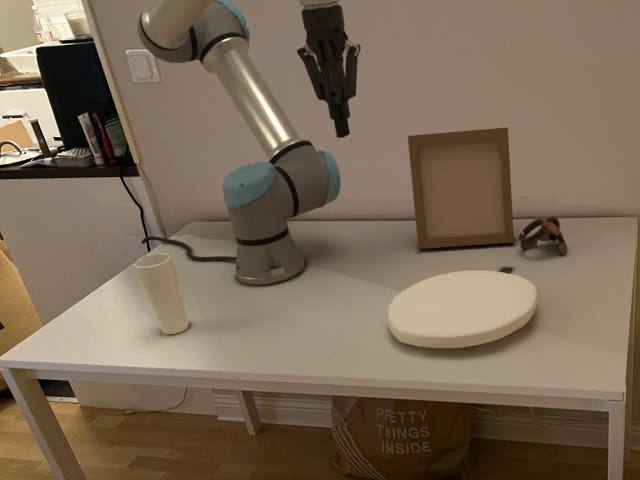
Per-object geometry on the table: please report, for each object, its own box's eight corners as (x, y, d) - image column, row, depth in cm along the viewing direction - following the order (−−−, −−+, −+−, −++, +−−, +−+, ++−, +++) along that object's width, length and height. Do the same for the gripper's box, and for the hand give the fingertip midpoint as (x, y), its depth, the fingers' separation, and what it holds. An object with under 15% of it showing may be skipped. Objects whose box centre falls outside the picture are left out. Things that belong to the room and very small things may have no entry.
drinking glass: (165, 321, 146) (142, 254, 139) (197, 319, 146) (175, 251, 138) (153, 338, 141) (127, 268, 133) (186, 336, 140) (163, 266, 132)
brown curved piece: (563, 263, 153) (543, 234, 149) (528, 275, 159) (508, 247, 155) (578, 229, 160) (559, 200, 156) (544, 242, 166) (525, 214, 162)
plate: (373, 338, 122) (394, 272, 145) (383, 370, 125) (401, 300, 148) (537, 314, 118) (532, 250, 140) (542, 347, 121) (536, 279, 143)
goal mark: (490, 284, 146) (490, 283, 146) (503, 268, 152) (503, 266, 152) (500, 285, 146) (500, 284, 145) (512, 268, 152) (512, 267, 152)
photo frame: (514, 246, 162) (508, 134, 149) (418, 252, 164) (404, 143, 151) (512, 222, 174) (507, 117, 161) (424, 228, 176) (411, 125, 163)
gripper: (279, 10, 131) (306, 140, 143) (341, 6, 126) (363, 141, 138) (301, 5, 136) (325, 130, 149) (361, 0, 132) (380, 130, 144)
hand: (343, 135), depth 144 cm, fingers closed
